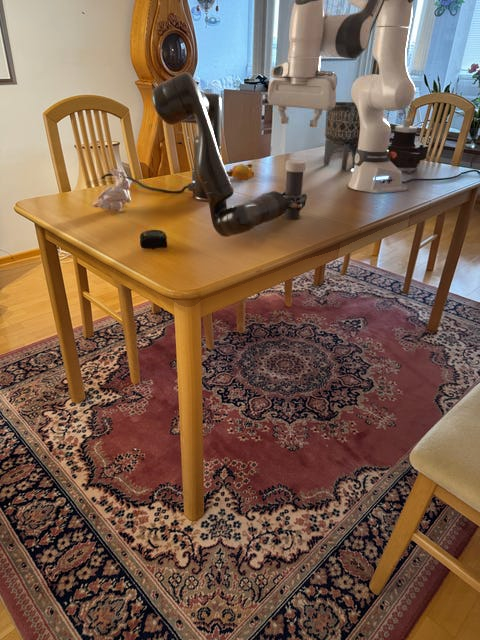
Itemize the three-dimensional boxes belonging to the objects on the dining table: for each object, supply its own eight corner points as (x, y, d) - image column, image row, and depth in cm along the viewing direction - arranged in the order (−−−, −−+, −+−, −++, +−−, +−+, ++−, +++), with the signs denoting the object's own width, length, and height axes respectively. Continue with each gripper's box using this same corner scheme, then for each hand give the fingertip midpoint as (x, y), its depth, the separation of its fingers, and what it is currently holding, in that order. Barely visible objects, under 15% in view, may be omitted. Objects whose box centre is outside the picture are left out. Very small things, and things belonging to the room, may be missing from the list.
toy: (223, 172, 179) (229, 164, 192) (228, 188, 182) (234, 178, 195) (249, 163, 176) (253, 155, 188) (254, 179, 179) (258, 170, 191)
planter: (313, 167, 208) (319, 103, 195) (331, 160, 222) (338, 101, 209) (353, 173, 199) (362, 107, 185) (369, 166, 213) (379, 104, 199)
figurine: (140, 206, 149) (137, 167, 143) (105, 217, 138) (99, 175, 132) (123, 202, 153) (119, 163, 146) (87, 213, 142) (81, 171, 136)
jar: (300, 219, 141) (305, 164, 133) (285, 219, 141) (289, 164, 132) (297, 214, 145) (301, 161, 137) (282, 214, 145) (285, 161, 137)
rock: (345, 148, 251) (347, 136, 248) (358, 151, 246) (360, 138, 242) (330, 151, 244) (331, 138, 240) (343, 154, 238) (344, 141, 235)
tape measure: (140, 252, 115) (139, 238, 113) (141, 242, 120) (140, 229, 119) (167, 251, 116) (166, 237, 114) (167, 241, 121) (166, 228, 120)
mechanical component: (374, 119, 196) (402, 114, 215) (366, 169, 206) (394, 160, 226) (423, 124, 184) (449, 118, 203) (412, 177, 194) (437, 167, 214)
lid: (307, 172, 134) (307, 163, 132) (287, 172, 133) (288, 163, 132) (302, 167, 139) (303, 159, 137) (283, 167, 138) (284, 159, 137)
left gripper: (289, 198, 124) (319, 187, 136) (247, 190, 132) (278, 179, 144) (287, 225, 128) (316, 211, 140) (246, 215, 135) (277, 203, 147)
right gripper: (343, 71, 119) (336, 127, 126) (278, 68, 130) (275, 121, 137) (332, 71, 115) (326, 129, 122) (265, 68, 125) (263, 122, 132)
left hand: (297, 195), depth 142 cm, fingers closed on jar, 5 cm apart
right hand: (298, 125), depth 129 cm, fingers open, 8 cm apart
